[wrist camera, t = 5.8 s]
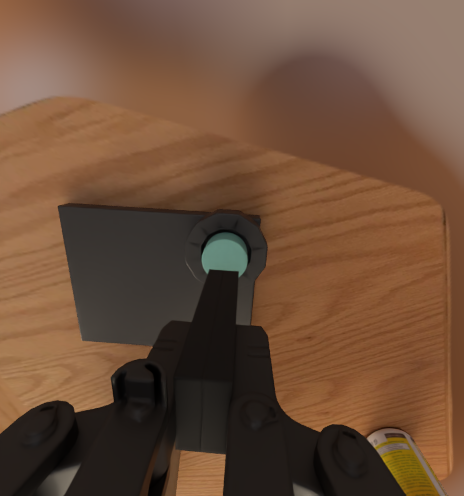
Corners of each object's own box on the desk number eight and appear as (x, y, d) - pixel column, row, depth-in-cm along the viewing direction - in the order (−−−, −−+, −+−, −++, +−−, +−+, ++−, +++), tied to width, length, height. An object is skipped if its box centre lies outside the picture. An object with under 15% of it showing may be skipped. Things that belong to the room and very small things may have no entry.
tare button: (248, 233, 18) (249, 240, 16) (245, 272, 19) (245, 283, 17) (205, 230, 18) (201, 237, 16) (204, 270, 19) (201, 280, 18)
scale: (267, 208, 20) (271, 216, 17) (253, 343, 25) (254, 367, 22) (67, 196, 20) (39, 201, 18) (89, 331, 25) (70, 353, 22)
